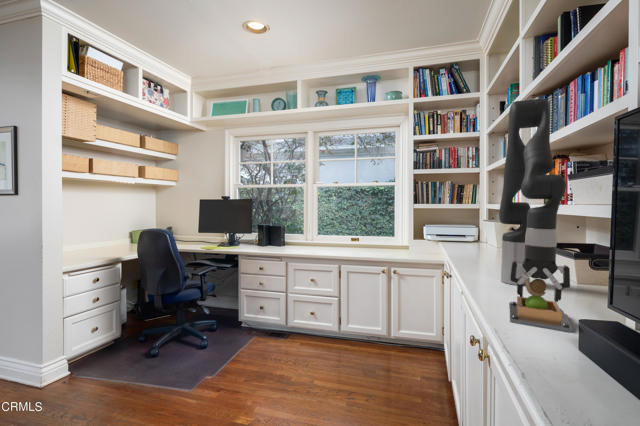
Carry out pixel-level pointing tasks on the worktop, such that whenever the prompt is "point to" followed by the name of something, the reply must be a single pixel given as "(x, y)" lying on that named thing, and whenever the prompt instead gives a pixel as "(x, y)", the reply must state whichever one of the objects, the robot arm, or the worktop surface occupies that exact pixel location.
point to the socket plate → (539, 315)
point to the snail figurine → (536, 293)
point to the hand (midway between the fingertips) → (538, 298)
